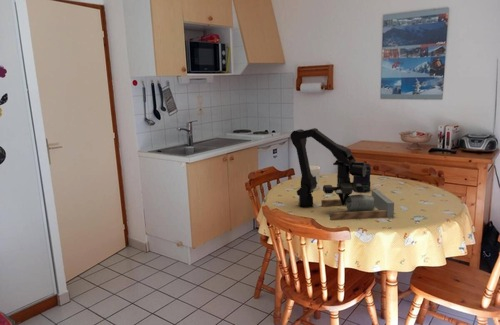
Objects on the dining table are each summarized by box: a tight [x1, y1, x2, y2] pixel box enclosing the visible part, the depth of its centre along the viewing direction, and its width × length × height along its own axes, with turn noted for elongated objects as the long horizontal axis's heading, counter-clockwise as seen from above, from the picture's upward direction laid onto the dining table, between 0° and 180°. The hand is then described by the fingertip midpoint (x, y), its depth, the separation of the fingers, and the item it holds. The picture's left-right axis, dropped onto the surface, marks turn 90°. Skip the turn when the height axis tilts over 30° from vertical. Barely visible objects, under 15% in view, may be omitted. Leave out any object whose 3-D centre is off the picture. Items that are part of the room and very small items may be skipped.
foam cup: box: [309, 165, 321, 191], centre depth 227 cm, size 10×9×13 cm
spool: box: [345, 193, 376, 212], centre depth 186 cm, size 14×10×10 cm
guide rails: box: [321, 198, 387, 221], centre depth 187 cm, size 26×21×3 cm
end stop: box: [370, 189, 395, 219], centre depth 187 cm, size 3×22×7 cm, turn 1°
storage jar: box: [352, 163, 372, 194], centre depth 219 cm, size 10×10×15 cm
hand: (342, 205), depth 187 cm, fingers closed
